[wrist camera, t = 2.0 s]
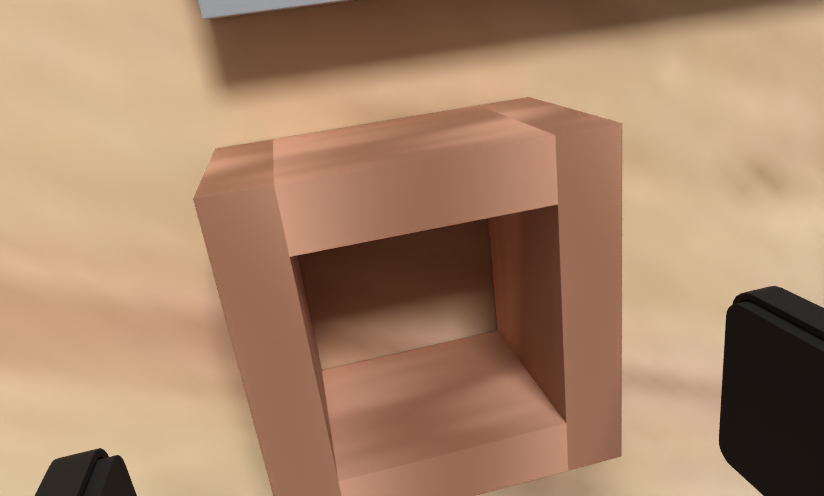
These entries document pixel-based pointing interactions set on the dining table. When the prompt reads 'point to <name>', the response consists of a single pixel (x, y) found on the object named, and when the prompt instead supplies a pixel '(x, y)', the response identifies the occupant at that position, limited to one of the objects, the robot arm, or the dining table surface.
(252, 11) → the hook board
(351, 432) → the wooden loop
